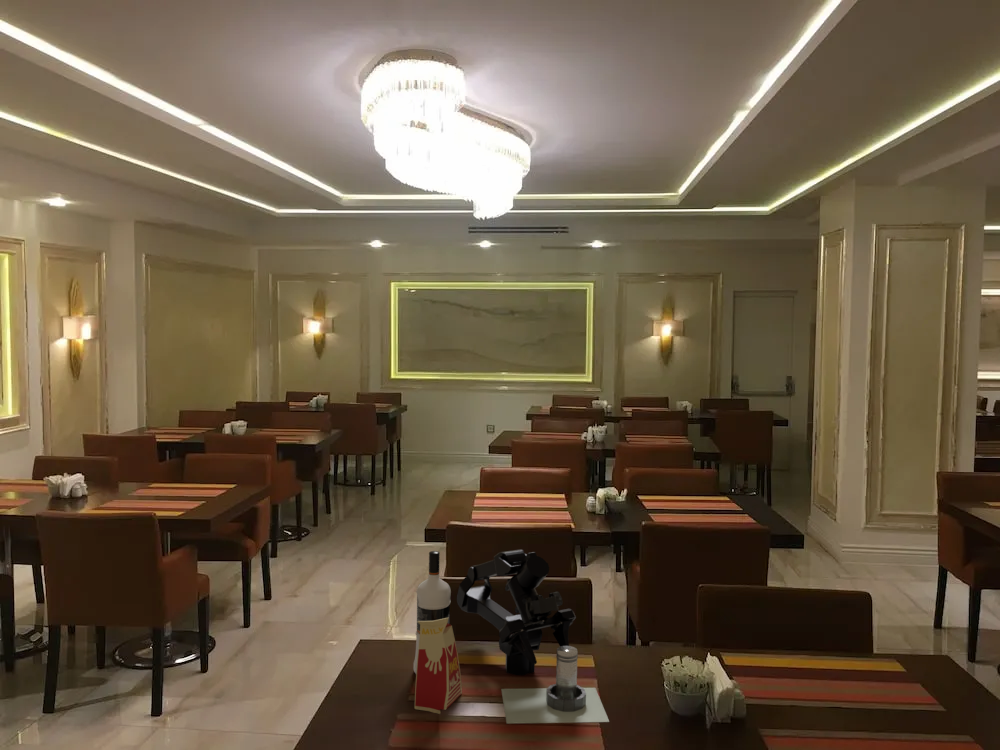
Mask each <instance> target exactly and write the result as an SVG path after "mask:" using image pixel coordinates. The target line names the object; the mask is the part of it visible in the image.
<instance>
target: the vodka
mask: <svg viewBox="0 0 1000 750" xmlns="http://www.w3.org/2000/svg"><path fill="white" fill-rule="evenodd" d="M440 555H441V554H440V551H439V550H438V551H437V550H432V551H429V553H428V578H426V579H425V580H423V581H421V583H419V584H418V586H417V587H416V591H415V593H416V631H415V636H416V637H415V638H416V639H415V640H416V643H415V654H414V660H413V664H412V665H413V671H414V673H415V674H416V672H417V659H418V649H419V639H420V624H419V623H418V622H417V621H434V620H439V619H444V618H448V617H449V618H448V624H450V607H451V606H450V605H451V593H452V591H451V586H450V585H449V583H447V582H446V581H444V580H443V579H441V578H440Z"/></svg>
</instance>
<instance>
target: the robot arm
mask: <svg viewBox="0 0 1000 750" xmlns="http://www.w3.org/2000/svg"><path fill="white" fill-rule="evenodd" d="M549 573H550V567H549V563H548V562H547V561H546V559H544V558H543V557H541V556H540V555H539V556H538V555H537V553H536V551H532V552H528V553H525V550H524V549H522V548H521V549H514V550H508V551H500V552H498V553H497V554H495V555H494V556H493V559H491V560H488V561H486V562H483V563H480V564H475V565H471V566H470V567H468V570H467V574H466V576H464V578H463V580H462V581H461V582H460V584H459V585H458V586H459V587H458V590H457V594H456V602H457V605H458V607H459V608H460V610H461V611H463V612H466V613H469V614H477V615H479V616H481V618H483V619H484V620H486V621H487V622H489V623H490V624H491V625H493V626H494V627H495V628H496V629H497V630H498V631H499V632H498V635H499V636H498V637H499V640H498V645H499V650H500V651H501V652H502V653H504V654H505V671H506V674H511V675H515V676H525V675H528V674H533V673H535V670H536V669H535V667H536V666H535V665H536V664H537V663H538V662H537V658H536V655H535V652H534V651H539V649H540V645H541V642H542V638H543V631H542V629H544V628H548V627H550V628H551V629H552V630H553V632H552V635H553V637H554V638H555V640H556V641H557V644H558V645H559V647H560V646H570V642H569V641H570V639H569V629H570V626H571V625H573V623H574V621H575V619H577V616H576V615H575V611H574V610H573V609H571V608H566V609H565V608H564V609H560V610H559V606H562V605H563V603H564V602H563V598H562V596H561V594H560V592H559V591H555V592H550V593H549V595H548V597H545V598H544V597H543V595H542V594H538V592H537V590H536V588H537V587H539V586H540V585H541V583H542V582H543V581H544V579H545V578H546V576H548V574H549ZM512 575H513V576H512ZM495 576H500V577H505V576H512V577H511V578H507V580H506V584H505V589H504V590H505V591H506V592H508V591H510V594H511V596H512V599H513V601H514V603H515V605H516V606H515V608H514V611H515V613H516V614H515V615H514V614H513V613H511V612H509V610H508V609H505V608H504V607H502V605H500V604H498V603H497V602H495V601H494V600H493V599H491V596H492V591H493V587H492V584H491V582H490V579H491V577H495ZM478 581H484V584H483V585H477V586H473V585H474V584H475V583H476V582H478ZM552 611H555V613H554V614H553V615H552V617H549V616H550V615H551V614H552ZM517 613H518V614H517Z"/></svg>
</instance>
